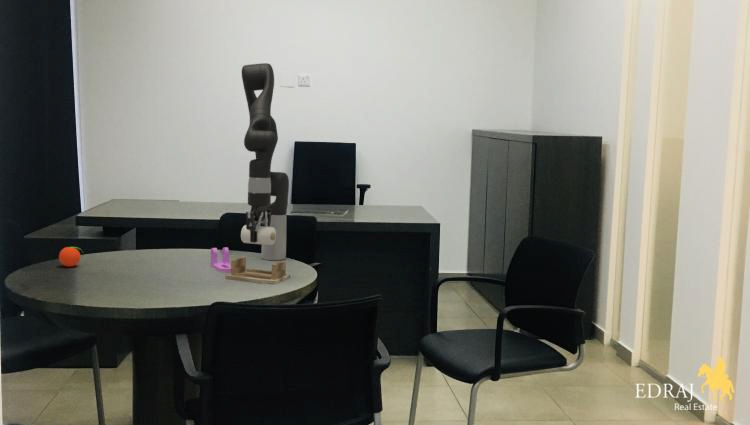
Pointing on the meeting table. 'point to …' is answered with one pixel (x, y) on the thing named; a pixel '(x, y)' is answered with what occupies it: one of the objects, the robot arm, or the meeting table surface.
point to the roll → (260, 235)
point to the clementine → (69, 256)
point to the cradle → (257, 272)
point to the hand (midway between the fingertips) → (258, 240)
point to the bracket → (223, 265)
